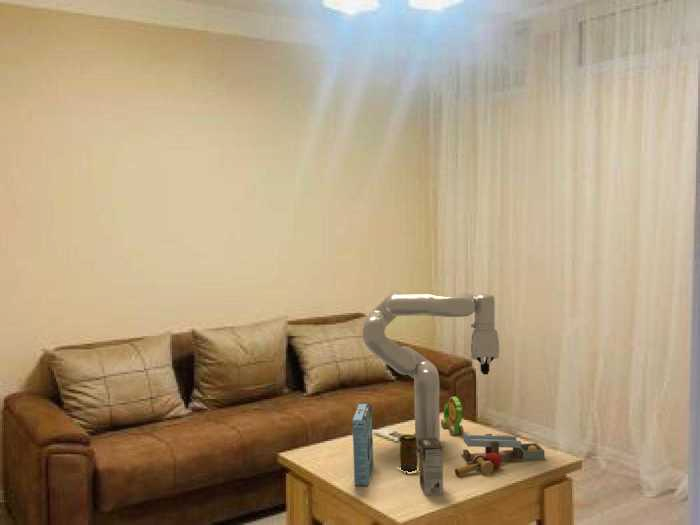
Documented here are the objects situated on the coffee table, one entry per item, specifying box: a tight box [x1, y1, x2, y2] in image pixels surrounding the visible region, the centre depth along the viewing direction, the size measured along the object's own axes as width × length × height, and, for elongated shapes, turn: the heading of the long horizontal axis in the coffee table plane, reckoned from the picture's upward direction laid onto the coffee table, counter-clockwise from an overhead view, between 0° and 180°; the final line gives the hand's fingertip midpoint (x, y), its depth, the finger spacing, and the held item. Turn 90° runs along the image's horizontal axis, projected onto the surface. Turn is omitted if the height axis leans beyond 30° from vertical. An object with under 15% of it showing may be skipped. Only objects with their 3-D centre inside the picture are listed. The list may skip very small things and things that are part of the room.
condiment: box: [399, 434, 420, 475], centre depth 250 cm, size 7×8×12 cm
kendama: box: [454, 453, 502, 478], centre depth 246 cm, size 8×6×18 cm
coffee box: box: [418, 438, 444, 496], centre depth 232 cm, size 9×6×16 cm
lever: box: [463, 431, 522, 449], centre depth 261 cm, size 20×12×4 cm, turn 95°
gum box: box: [352, 403, 374, 486], centre depth 245 cm, size 20×5×23 cm, turn 172°
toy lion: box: [440, 396, 465, 436], centre depth 289 cm, size 16×5×15 cm, turn 13°
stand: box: [461, 433, 525, 466], centre depth 259 cm, size 21×9×8 cm, turn 95°
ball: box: [528, 445, 537, 451], centre depth 260 cm, size 4×4×4 cm
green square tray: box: [520, 442, 545, 462], centre depth 260 cm, size 8×8×4 cm
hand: (484, 373), depth 268 cm, fingers closed
